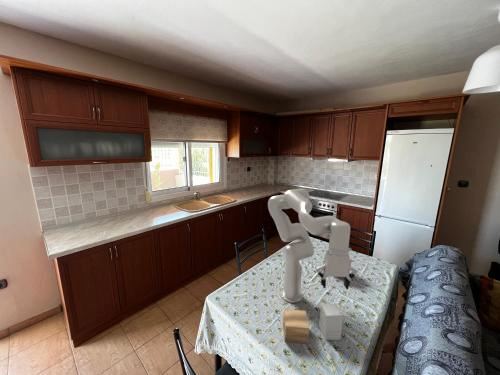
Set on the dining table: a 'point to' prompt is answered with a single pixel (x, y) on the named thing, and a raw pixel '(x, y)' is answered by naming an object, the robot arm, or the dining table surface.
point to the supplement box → (331, 321)
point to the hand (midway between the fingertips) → (334, 286)
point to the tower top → (296, 322)
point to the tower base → (294, 337)
